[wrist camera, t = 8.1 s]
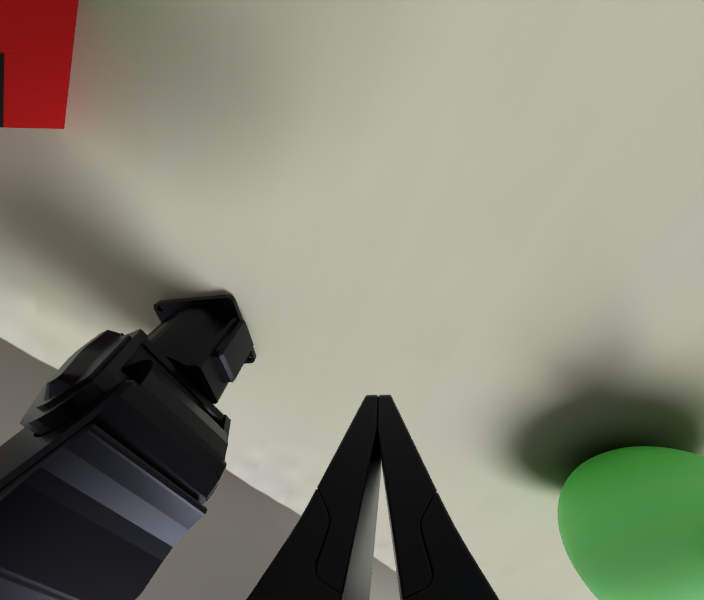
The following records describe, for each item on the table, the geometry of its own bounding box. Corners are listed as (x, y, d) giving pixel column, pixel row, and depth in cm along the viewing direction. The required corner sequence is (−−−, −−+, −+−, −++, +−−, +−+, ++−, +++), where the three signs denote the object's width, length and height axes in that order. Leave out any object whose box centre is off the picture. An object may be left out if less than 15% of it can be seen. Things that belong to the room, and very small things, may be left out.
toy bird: (501, 484, 33) (585, 703, 20) (605, 385, 25) (856, 648, 12) (636, 514, 35) (790, 732, 22) (774, 430, 27) (1148, 702, 14)
